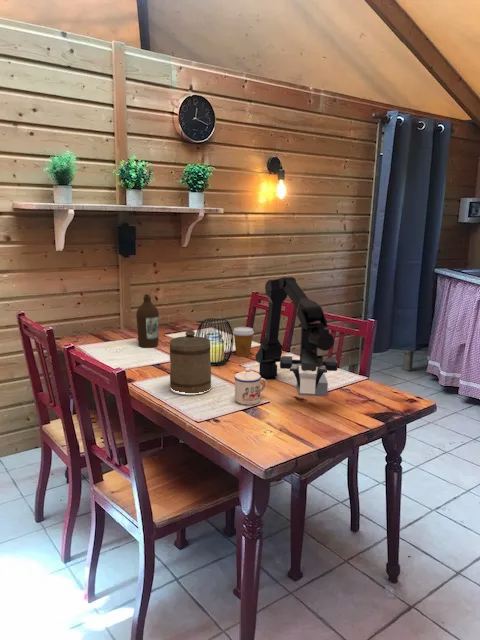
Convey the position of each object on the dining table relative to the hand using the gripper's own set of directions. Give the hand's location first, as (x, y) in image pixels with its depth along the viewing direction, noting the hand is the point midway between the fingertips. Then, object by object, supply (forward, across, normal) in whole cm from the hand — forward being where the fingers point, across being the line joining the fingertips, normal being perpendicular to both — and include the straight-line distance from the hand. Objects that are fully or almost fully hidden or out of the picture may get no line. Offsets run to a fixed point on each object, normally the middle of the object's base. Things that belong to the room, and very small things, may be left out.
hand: (307, 387), depth 167 cm
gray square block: (+6, +2, +14) cm, 16 cm away
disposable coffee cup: (+6, -28, +56) cm, 63 cm away
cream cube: (+1, 0, 0) cm, 1 cm away
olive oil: (+6, -75, +65) cm, 100 cm away
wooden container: (+6, -42, +9) cm, 43 cm away
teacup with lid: (+6, -19, +1) cm, 20 cm away
